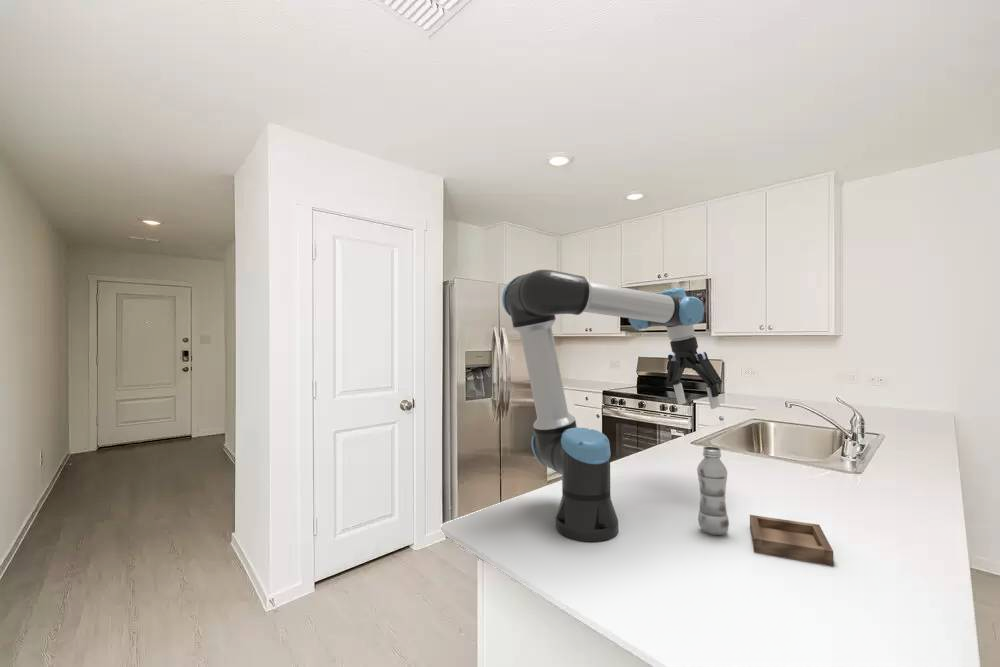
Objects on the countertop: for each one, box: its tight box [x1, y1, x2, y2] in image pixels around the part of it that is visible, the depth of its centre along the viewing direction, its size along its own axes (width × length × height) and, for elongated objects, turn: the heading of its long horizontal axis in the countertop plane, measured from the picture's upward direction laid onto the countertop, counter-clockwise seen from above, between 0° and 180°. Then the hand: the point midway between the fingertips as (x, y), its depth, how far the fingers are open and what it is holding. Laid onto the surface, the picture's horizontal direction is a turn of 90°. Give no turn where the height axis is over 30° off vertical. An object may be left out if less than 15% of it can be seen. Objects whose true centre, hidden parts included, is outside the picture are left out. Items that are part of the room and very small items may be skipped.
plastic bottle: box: [696, 446, 730, 536], centre depth 106 cm, size 6×7×20 cm
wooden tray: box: [749, 514, 835, 567], centre depth 100 cm, size 14×14×3 cm
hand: (698, 405), depth 137 cm, fingers open, 13 cm apart
